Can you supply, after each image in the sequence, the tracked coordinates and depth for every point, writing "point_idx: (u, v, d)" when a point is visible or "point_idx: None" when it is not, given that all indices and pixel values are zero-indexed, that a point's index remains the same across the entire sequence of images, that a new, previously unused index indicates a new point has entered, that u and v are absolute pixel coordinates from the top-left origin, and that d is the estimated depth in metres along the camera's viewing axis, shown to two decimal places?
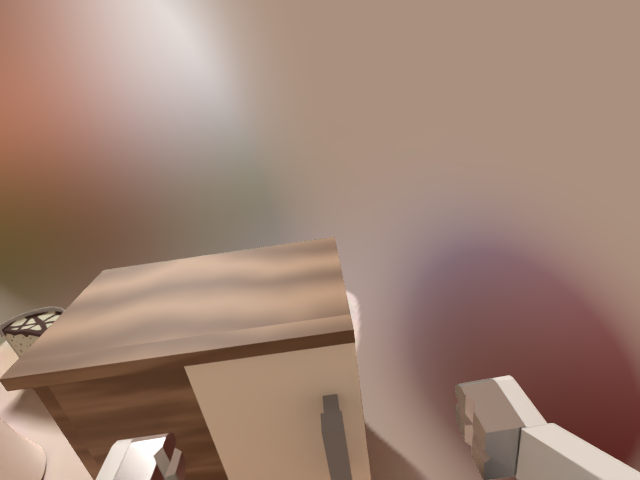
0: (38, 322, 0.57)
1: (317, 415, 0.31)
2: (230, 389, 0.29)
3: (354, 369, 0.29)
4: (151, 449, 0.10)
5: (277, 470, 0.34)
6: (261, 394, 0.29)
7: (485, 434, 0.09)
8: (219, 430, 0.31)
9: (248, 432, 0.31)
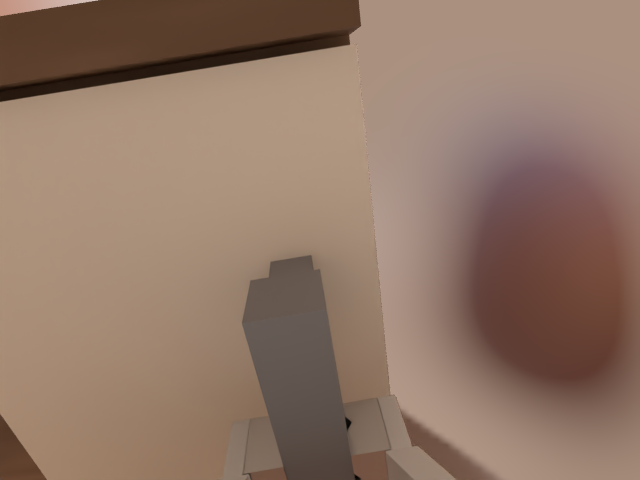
0: None
1: None
2: None
3: (358, 165, 0.10)
4: None
5: None
6: (91, 255, 0.10)
7: (351, 457, 0.09)
8: (1, 374, 0.12)
9: (83, 379, 0.12)
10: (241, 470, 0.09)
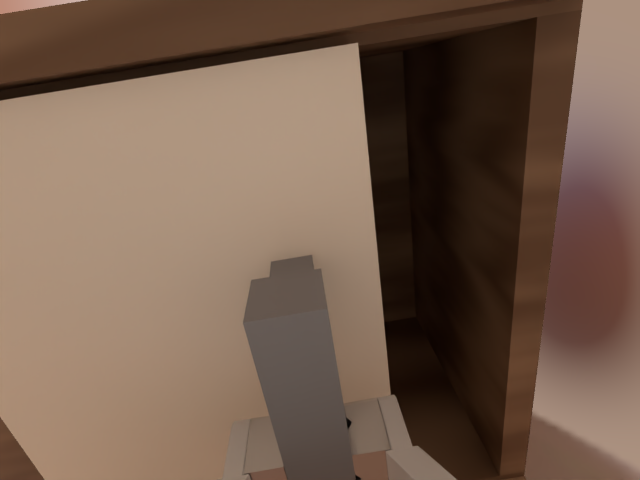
0: None
1: None
2: None
3: (359, 164, 0.10)
4: None
5: None
6: (91, 255, 0.10)
7: None
8: (0, 374, 0.12)
9: (82, 380, 0.12)
10: (241, 470, 0.09)
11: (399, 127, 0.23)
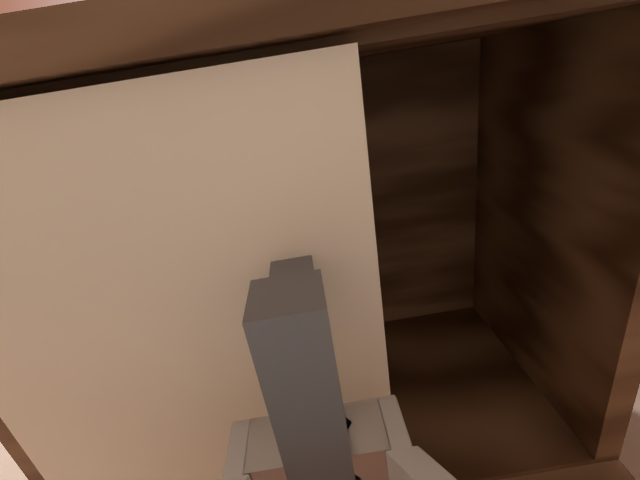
0: None
1: None
2: None
3: (358, 164, 0.10)
4: None
5: None
6: (90, 255, 0.10)
7: None
8: None
9: (81, 380, 0.12)
10: (241, 470, 0.09)
11: (471, 114, 0.23)
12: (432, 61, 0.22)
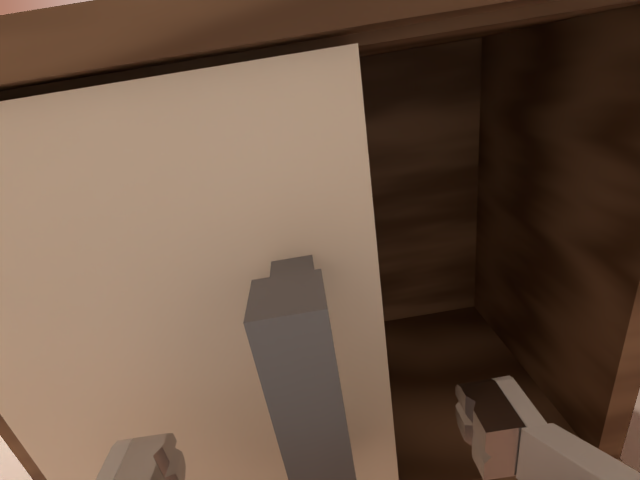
0: None
1: None
2: None
3: (359, 164, 0.10)
4: (151, 449, 0.09)
5: None
6: (92, 255, 0.10)
7: (485, 434, 0.09)
8: (1, 374, 0.12)
9: (83, 379, 0.12)
10: None
11: (472, 114, 0.23)
12: (434, 61, 0.22)
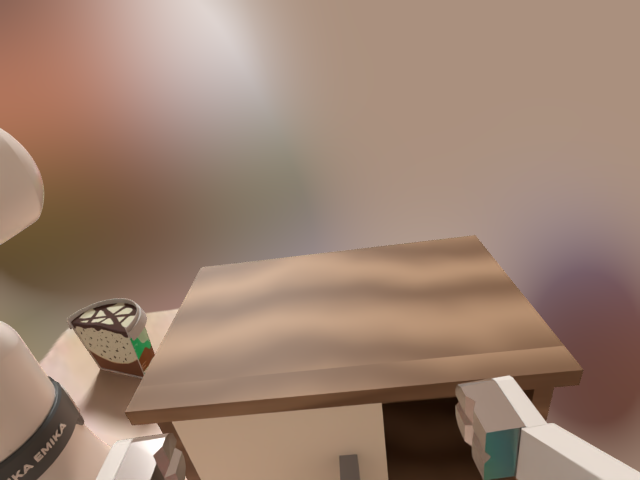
0: (108, 315, 0.53)
1: (332, 475, 0.25)
2: (227, 445, 0.24)
3: (379, 429, 0.23)
4: (151, 449, 0.10)
5: None
6: (264, 451, 0.24)
7: (485, 434, 0.09)
8: None
9: None
10: None
11: None
12: None
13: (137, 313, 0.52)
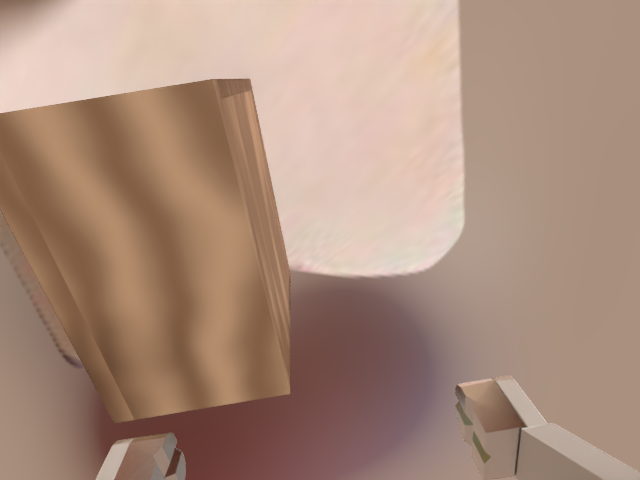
0: None
1: None
2: None
3: None
4: (151, 449, 0.10)
5: None
6: None
7: (485, 434, 0.09)
8: None
9: None
10: None
11: None
12: None
13: None
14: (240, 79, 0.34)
